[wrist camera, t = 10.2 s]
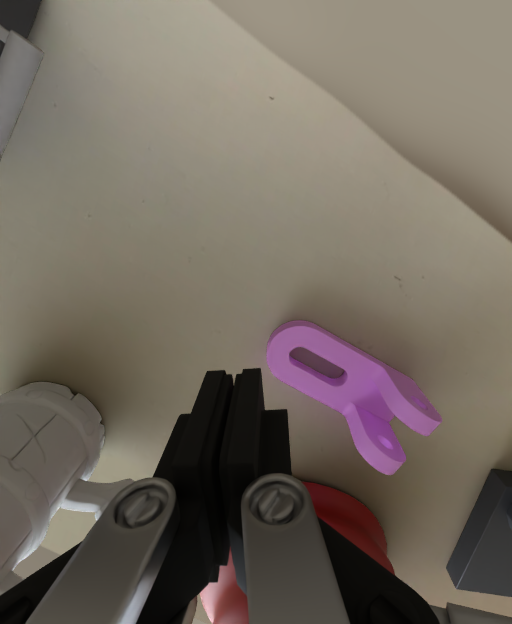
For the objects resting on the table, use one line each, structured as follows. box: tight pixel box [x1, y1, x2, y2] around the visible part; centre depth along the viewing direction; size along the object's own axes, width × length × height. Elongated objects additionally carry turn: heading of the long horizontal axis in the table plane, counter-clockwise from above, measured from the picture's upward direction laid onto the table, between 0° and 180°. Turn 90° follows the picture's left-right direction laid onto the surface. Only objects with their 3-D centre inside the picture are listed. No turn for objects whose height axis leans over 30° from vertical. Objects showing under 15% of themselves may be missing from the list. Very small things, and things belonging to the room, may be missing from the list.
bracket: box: [267, 320, 442, 475], centre depth 27 cm, size 13×6×7 cm, turn 60°
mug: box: [0, 382, 135, 595], centre depth 26 cm, size 11×17×17 cm, turn 56°
